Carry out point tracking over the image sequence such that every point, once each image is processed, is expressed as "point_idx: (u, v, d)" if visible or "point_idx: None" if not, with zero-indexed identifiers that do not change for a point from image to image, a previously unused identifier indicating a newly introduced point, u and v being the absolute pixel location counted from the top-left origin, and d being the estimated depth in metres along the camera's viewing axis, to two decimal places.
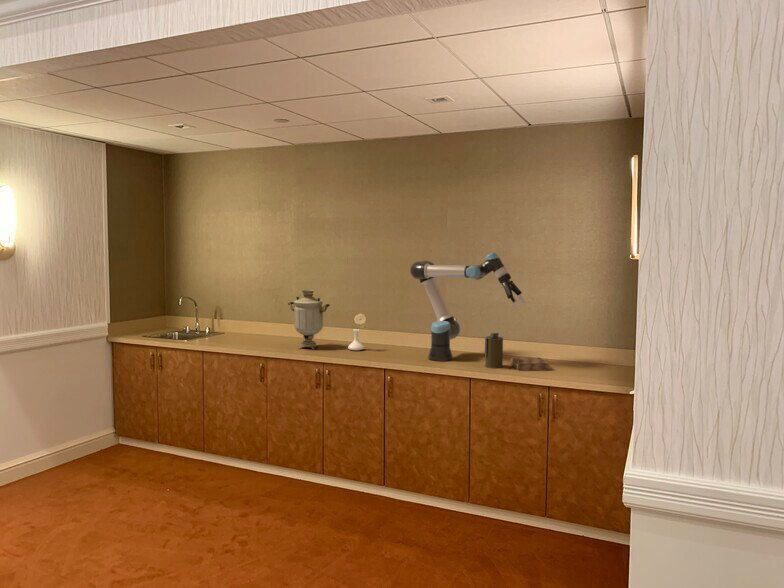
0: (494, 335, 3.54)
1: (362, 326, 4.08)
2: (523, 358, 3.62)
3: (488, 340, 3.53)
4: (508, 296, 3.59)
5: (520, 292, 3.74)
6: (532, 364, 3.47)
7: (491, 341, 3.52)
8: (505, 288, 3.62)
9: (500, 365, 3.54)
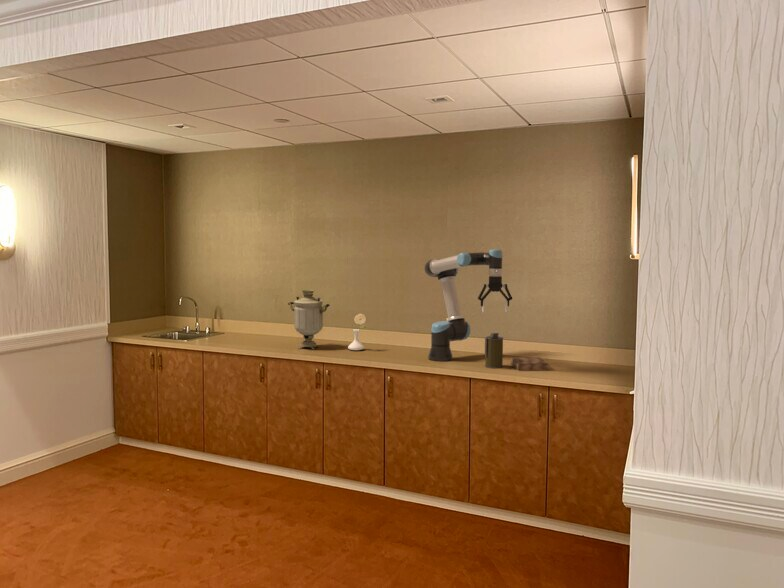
0: (494, 335, 3.54)
1: (362, 326, 4.08)
2: (523, 358, 3.62)
3: (488, 340, 3.53)
4: None
5: (508, 299, 3.53)
6: (532, 364, 3.47)
7: (491, 341, 3.52)
8: (482, 289, 3.54)
9: (500, 365, 3.54)
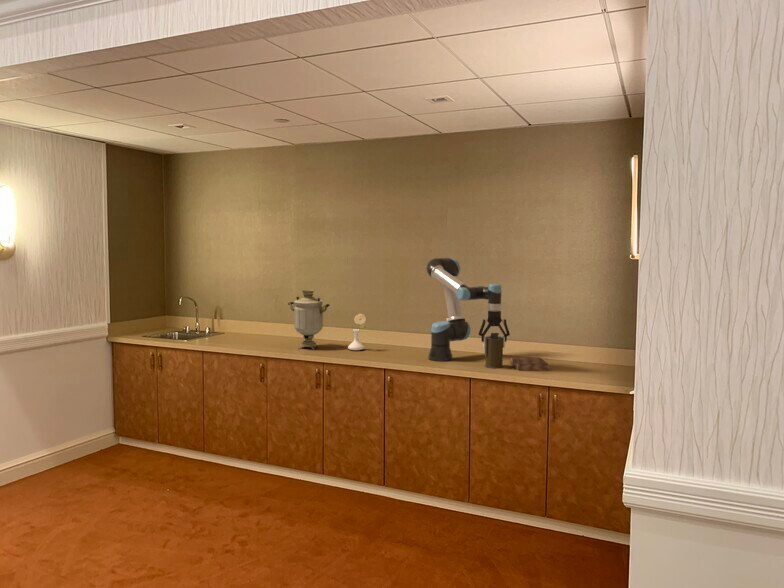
0: (494, 335, 3.54)
1: (362, 326, 4.08)
2: (523, 358, 3.62)
3: (488, 340, 3.53)
4: None
5: (505, 335, 3.55)
6: (532, 364, 3.47)
7: (491, 341, 3.52)
8: None
9: (500, 365, 3.54)
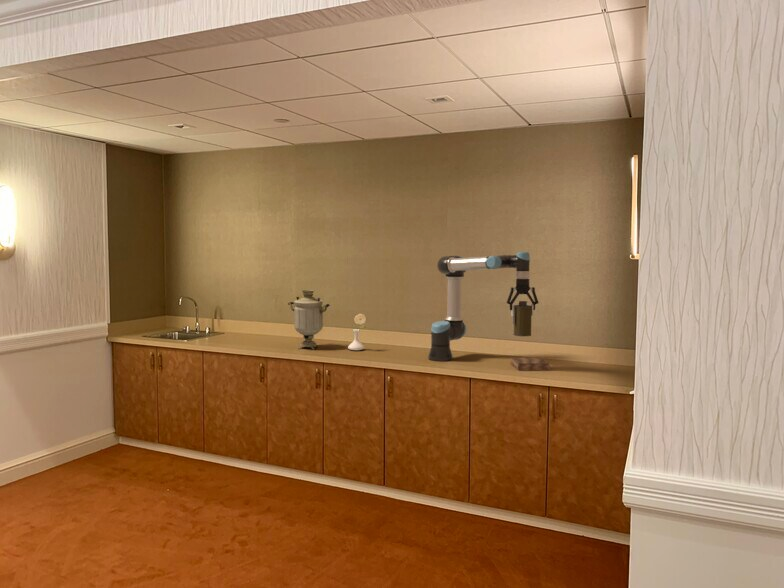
0: (523, 303, 3.51)
1: (362, 326, 4.08)
2: (523, 358, 3.62)
3: (517, 308, 3.50)
4: None
5: (534, 303, 3.52)
6: (532, 364, 3.47)
7: (520, 309, 3.49)
8: (510, 293, 3.53)
9: (529, 333, 3.51)
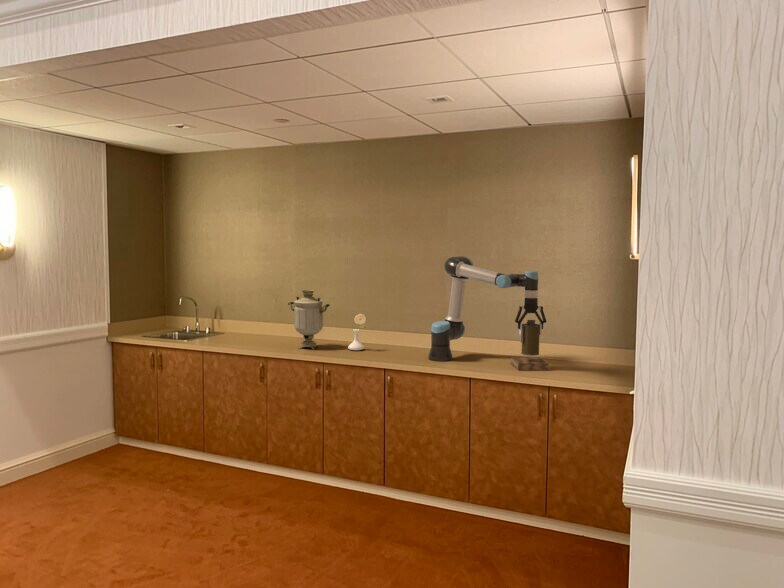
0: (531, 322, 3.52)
1: (362, 326, 4.08)
2: (523, 358, 3.62)
3: (525, 327, 3.51)
4: (515, 321, 3.54)
5: (542, 322, 3.53)
6: (532, 364, 3.47)
7: (528, 328, 3.50)
8: (518, 312, 3.53)
9: (537, 352, 3.52)
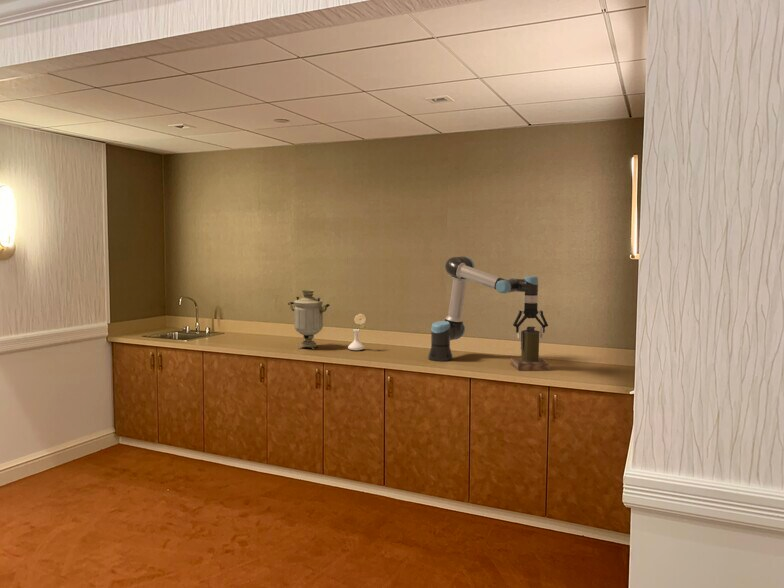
0: (530, 329, 3.53)
1: (362, 326, 4.08)
2: None
3: (524, 334, 3.52)
4: (513, 325, 3.54)
5: (544, 326, 3.53)
6: (532, 364, 3.47)
7: (528, 335, 3.50)
8: (517, 316, 3.54)
9: (536, 359, 3.52)
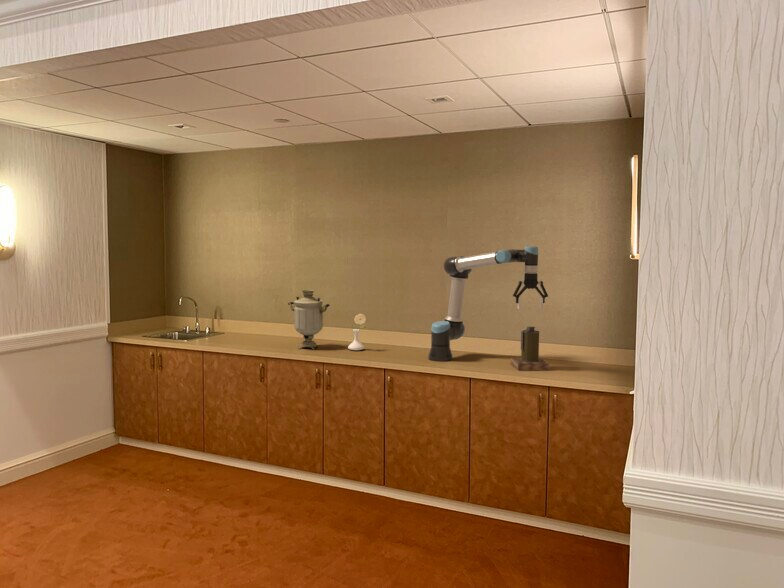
0: (530, 329, 3.53)
1: (362, 326, 4.08)
2: None
3: (524, 334, 3.52)
4: (513, 295, 3.53)
5: (544, 296, 3.52)
6: (532, 364, 3.47)
7: (527, 335, 3.50)
8: (517, 286, 3.53)
9: (536, 359, 3.52)
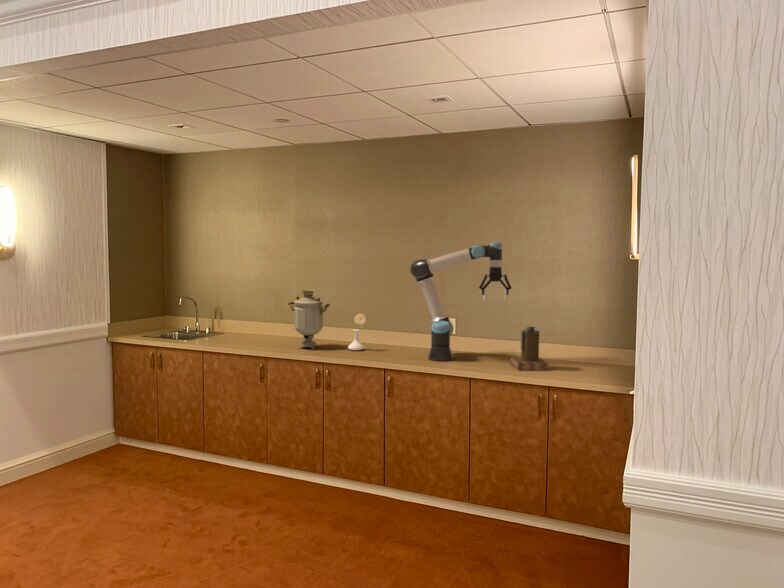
0: (530, 329, 3.53)
1: (362, 326, 4.08)
2: None
3: (524, 334, 3.52)
4: (479, 288, 3.82)
5: (507, 288, 3.81)
6: (532, 364, 3.47)
7: (528, 335, 3.50)
8: (483, 279, 3.81)
9: (536, 359, 3.52)
